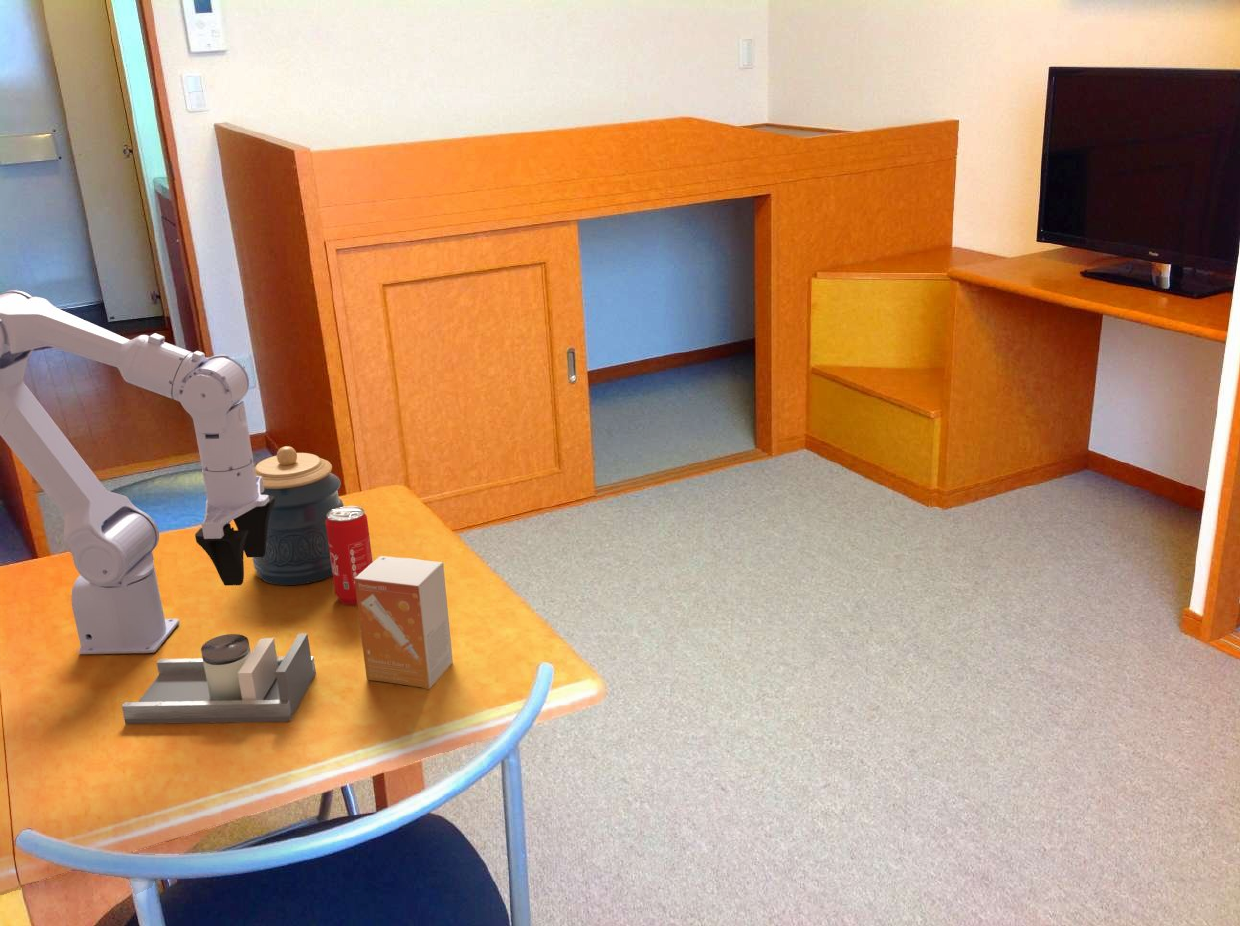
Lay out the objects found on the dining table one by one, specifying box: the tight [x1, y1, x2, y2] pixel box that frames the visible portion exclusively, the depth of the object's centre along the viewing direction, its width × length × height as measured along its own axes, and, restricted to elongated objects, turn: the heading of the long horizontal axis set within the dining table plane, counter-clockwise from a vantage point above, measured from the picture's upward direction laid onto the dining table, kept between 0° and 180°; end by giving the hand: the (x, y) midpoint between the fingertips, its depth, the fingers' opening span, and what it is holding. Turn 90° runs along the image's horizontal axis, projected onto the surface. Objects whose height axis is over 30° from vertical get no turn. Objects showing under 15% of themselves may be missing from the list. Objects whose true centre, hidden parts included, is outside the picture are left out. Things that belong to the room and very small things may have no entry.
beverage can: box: [326, 505, 374, 606], centre depth 150 cm, size 5×5×12 cm
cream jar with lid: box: [200, 633, 252, 701], centre depth 128 cm, size 5×5×6 cm
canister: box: [251, 445, 345, 586], centre depth 158 cm, size 13×13×18 cm
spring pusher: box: [238, 637, 278, 700], centre depth 128 cm, size 2×8×4 cm, turn 178°
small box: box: [355, 555, 453, 690], centre depth 131 cm, size 8×6×13 cm
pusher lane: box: [121, 632, 317, 725], centre depth 129 cm, size 18×10×6 cm, turn 88°
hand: (245, 569), depth 139 cm, fingers open, 7 cm apart
